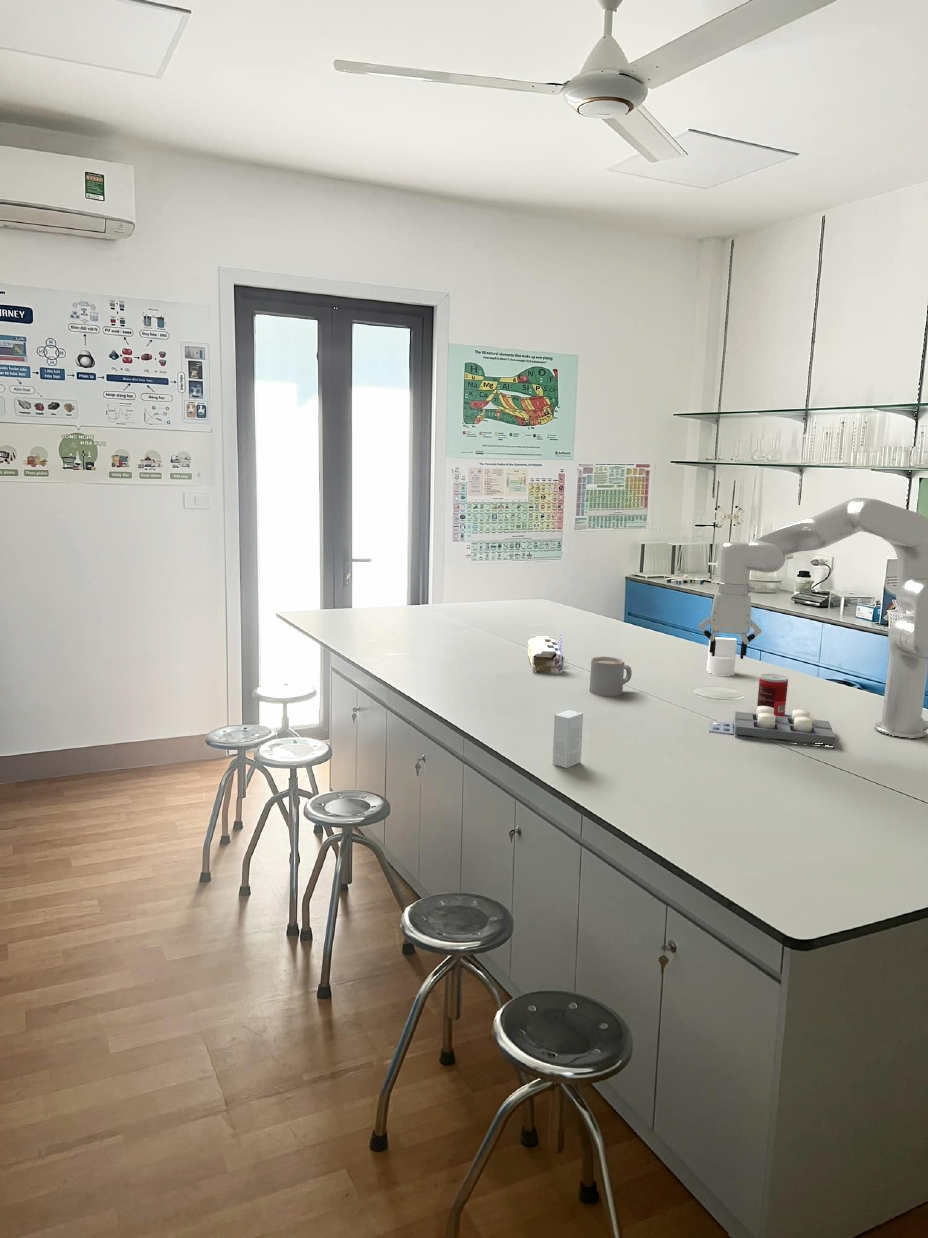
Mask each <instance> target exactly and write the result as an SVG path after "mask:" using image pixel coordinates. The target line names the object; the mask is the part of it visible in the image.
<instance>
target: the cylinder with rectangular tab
mask: <svg viewBox="0 0 928 1238" xmlns="http://www.w3.org/2000/svg"><path fill="white" fill-rule="evenodd" d="M715 641H716V646H715V656H714V657H713V656H712V653H710V652H709V651H710V640H709V639H708V652H707V663H706V672H707V671H708V673H707V674H709V673H712V674H716V675H715V676H717V675H732V674H734V675H735V666H736V657H737V646H738V645H737V644H738V639H737V638H736V637H722V636H721V637H720V636H719V637H718V636H716V638H715ZM712 674H711V675H712ZM732 676H733V675H732Z"/></svg>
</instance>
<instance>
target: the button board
mask: <svg viewBox="0 0 928 1238" xmlns="http://www.w3.org/2000/svg"><path fill="white" fill-rule="evenodd" d="M811 719H812V718H811ZM791 720H792V716H785V715H784V716H776V718H775V728H773V729H766V728H760V727H758V726H757V719H756V712H755V713H754V712H746V711H745V712H744V711H735V713H734V722H735V725H734V724H733V722H726V721H725V722H724V721H713V720H709V727H708V728H709V730H708V731H709V733H715V734H723V735H732V734H733V735H734V738H735V737H739V738H738V739H745V740H752V739H754V741H761V740H766V741H765V742H770V741H771V742H774V743H780V742H781V743H783V744H789V743H797V744H796V745H798V744H806V745H805V746H807V745H820V746H825V745H829V746H833V745H834V746H835V745H836V744H835V743H836V735H835V733H834V730H833V728H832V726H831V723H830V721H829V720H820V719H814V718H813V719H812V720H813V722H812V731H811V732H810V733H803V732H797V731H795V730H793V727H794V723H792V722H791ZM733 725H734V726H733ZM733 727H734V728H733ZM781 743H780V744H781ZM815 743H823V744H815Z"/></svg>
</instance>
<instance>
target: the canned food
mask: <svg viewBox="0 0 928 1238" xmlns="http://www.w3.org/2000/svg"><path fill="white" fill-rule="evenodd" d="M788 687H789V678H788V676H785V675H783V674H778V673H762V674H760V675H759V681H758V691H757V702H756V708H757V707H758V706H768V707H772V708H774V715H775V716H783V715H784V716H785V713H786V707H787V706H786V705H787V695H788Z"/></svg>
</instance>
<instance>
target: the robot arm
mask: <svg viewBox="0 0 928 1238" xmlns="http://www.w3.org/2000/svg"><path fill="white" fill-rule="evenodd" d="M859 532H863V533H868V534H871V535H874V536H876V537H879V538H881V539H882V540H883V541H886V542H888V544H890V545H891V546H892V548H893V550H894V552H895V554H896V558H897V571H896V572H897V573H896V574H897V575H896V591H895V600H896V603H897V604H898V605H897V606H898V607H900V608H901V609H903V610H905V611H907V612H910V613H912V614H913V615H904V616H901V617H899V618H897V619H895V620H894V621H893V622H892V623H891V624H890V627H889V629H888V635H887V643H888V665H887V672H886V680H885V688H884V697H883V705H882V706H883V707H882V713H881V714H882V715H881V721H878V722H875V723H874V727H875V728H876V731H877V730H878V731H881V732H883V733H885V734H884V735H886V734H890V735H892V736H891V737H894V736H900V737H923V736H925V735H926V736H927V731H928V720H925V719H924V718H923V708H924V700H925V694H926V693H925V691H926V685H927V677H928V518H927V517H926V516H925V515H923V514H922V513H920V512H919V513H918V512H916V511H913V510H909V509H907V508H903V507H900V506H898V505H893V504H891V503H888V502H885V501H883V500H879V499H877V498H876V499H875V498H868V497H855V498H852V499H849V500H846V501H843V502H841V503H840V504H837V505H835V506H833V507H831V508H828V509H827V510H825V511H823V512H820V513H818V514H817V515H814V516H811V517H809V518H807V519H804V520H801V521H798V522H795V523H792V524H790V525H787V526H784V527H780V528H778V529H775V530H773V531H771V532H768V533H766V534H764V535H762V536H759V537H757V538H755V539H753V540H751V541H750V542H749V543H747V542H742V541H729V542H728V541H726V542H724V543H723V545H722V547H721V554H720V555H721V556H720V567H719V577H718V579H719V580H718V589H717V591H718V592H716V593H714V597H713V599H712V600H713V601H712V606H711V613H710V616H708V617H707V618H706V619H704V620H703V621H702V622H700V623H699V624H698V628H699V629H700V631H701V632H703V634H704V635H705V637H706V638H707V639H708V641H709V640H710V651H709V652H710V653H712V656H713V657H714V656H715V646H716V641H715V638H716V637H718V635H719V633H725V634H734V635H735V634H739V635H740V636H741V638H742V642H741V643H740V653H739V654H740V656H739V658H740V660H744V656H747V651H748V644H749V643H750V642H751V641H753V640H755V638H756V637H758V635H760V634H761V633H762V629H761V628H760V627H759V626H758V625H757V623H755V622H754V620H753V619H752V598H751V595H749V594H750V593H751V592H752V593H754V592H755V586H752V585H750V578H751V577H750V576H751V571H754V572H760V573H764V574H765V573H766V574H767V573H768V574H770V573H776V572H778V571H779V570H780V569H782V568H783V567H784V565H785V562H786V556H788V555H791V554H794V553H799V552H810V551H811V552H813V551H817V550H821V549H824V548H827V547H829V546H831V545H833V544H835V543H837V542H839V541H842V540H844V539H847V538H848V537H851V536H853V535H854V534H857V533H859ZM708 625H709V626H710V628H709V629H710V630H711V632H710V630H708V628H707V626H708ZM751 628H752V629H753V630H754V631H753V632H751V633H750V630H751ZM749 633H750V634H749ZM747 634H748V635H747ZM875 728H874V729H875ZM878 731H877V732H878ZM883 733H882V734H883ZM890 735H889V736H890ZM926 736H925V737H926ZM900 737H899V738H900ZM923 738H924V737H923Z"/></svg>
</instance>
